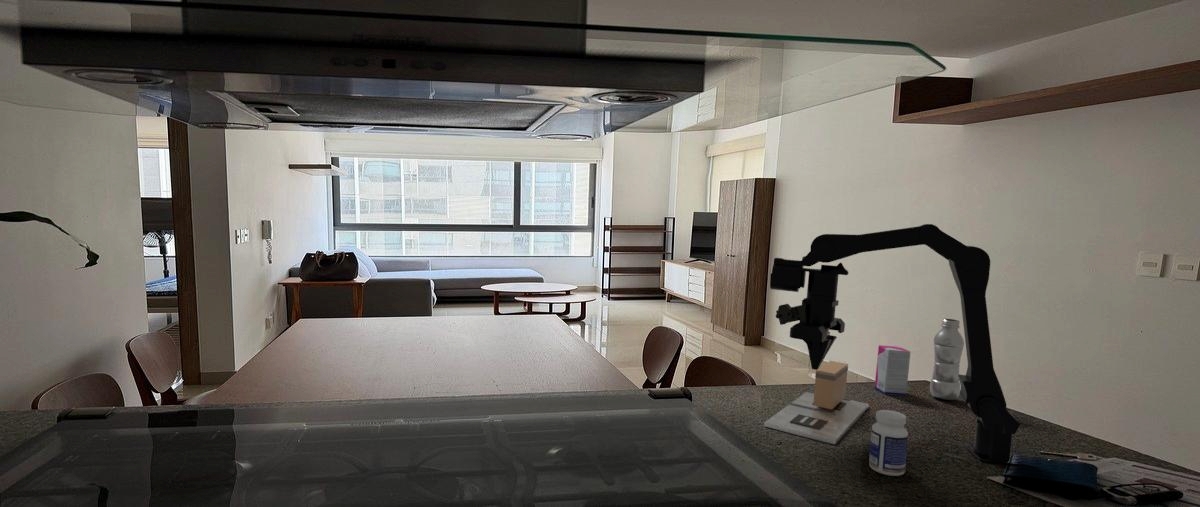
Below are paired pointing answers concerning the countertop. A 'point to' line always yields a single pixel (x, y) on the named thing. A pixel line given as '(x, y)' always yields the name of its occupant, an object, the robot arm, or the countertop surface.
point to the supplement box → (892, 370)
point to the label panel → (817, 418)
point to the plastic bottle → (947, 361)
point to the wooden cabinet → (830, 384)
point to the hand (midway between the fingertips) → (814, 369)
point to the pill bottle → (889, 443)
